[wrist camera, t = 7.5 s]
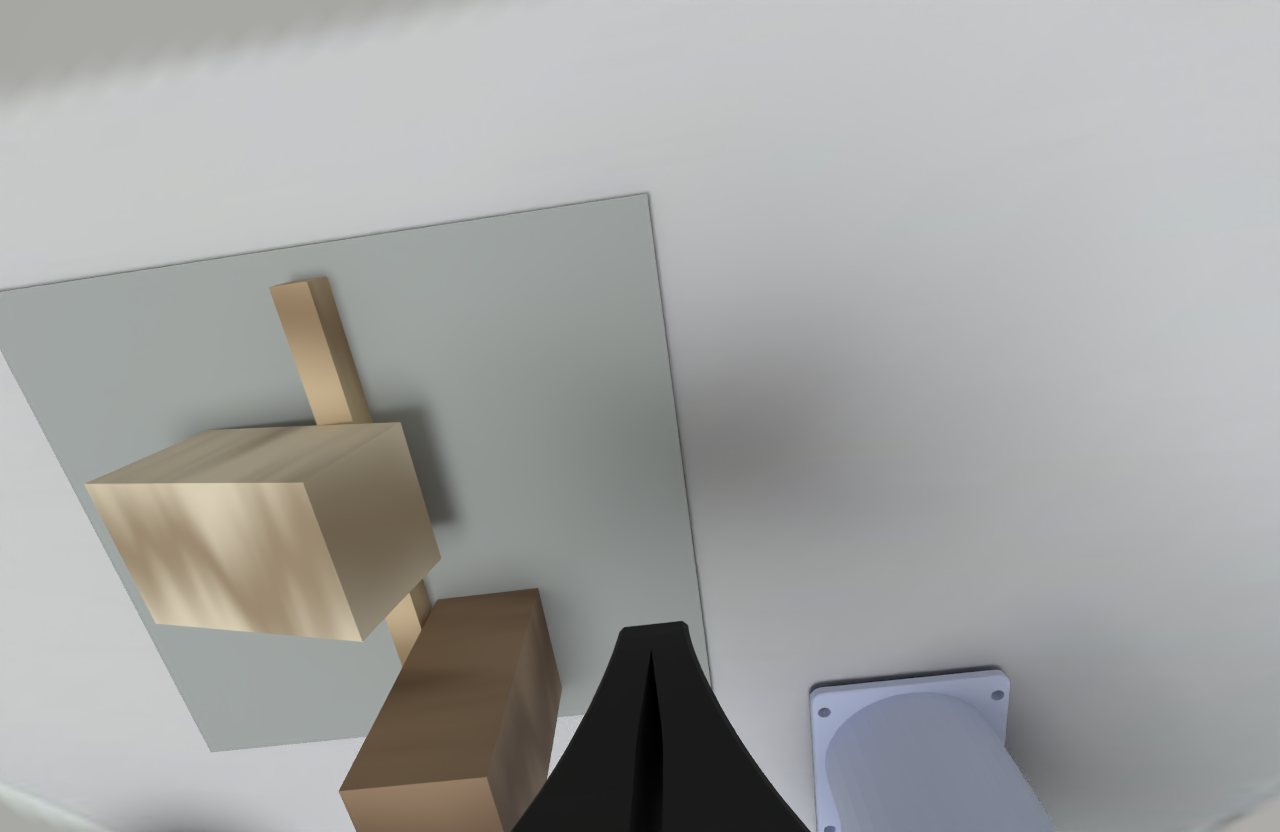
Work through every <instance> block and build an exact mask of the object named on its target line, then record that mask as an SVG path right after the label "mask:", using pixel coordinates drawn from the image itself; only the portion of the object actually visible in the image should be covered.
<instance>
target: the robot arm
mask: <svg viewBox="0 0 1280 832" xmlns="http://www.w3.org/2000/svg"><path fill="white" fill-rule="evenodd" d="M994 691H996V692H994ZM1009 694H1010V680H1009V678H1008V677H1007V676H1006V674H1005V673H1004V672H1003V671H1000V670H987V671H977V672H968V673H958V674H948V675H938V676H928V677H918V678H909V679H899V680H889V681H879V682H869V683H859V684H850V685H840V686H830V687H821V688H817V689H815V690H814V691H812V693H811V694H810V714H811V732H812V749H813V766H814V784H815V801H816V818H817V832H1059V830H1058V829H1057V827H1056V826H1055V824H1054V823H1053V821H1052V820H1051V818H1050V816H1049V815H1048V813H1047V812H1046V810H1045V809H1044V807H1043V806H1042V804H1041V802H1040V801H1039V799H1038V798H1037V796H1036V795H1035V793H1034V792H1033V790H1032V789H1031V787H1030V785H1029V784H1028V782H1027V781H1026V779H1025V778H1024V776H1023V775H1022V773H1021V771H1020V770H1019V768H1018V767H1017V765H1016V764H1015V762H1014V761H1013V759H1012V757H1011V756H1010V754H1009V753H1008V751H1007V750H1006V748H1005V738H1006V727H1007V716H1008V705H1009ZM821 708H826V709H823V710H820V709H821ZM510 832H810V830H809V829H808V828H807V827H806V826H805V824H804V823H803V822H802V821H801V820H800V819H799V817H798V816H797V815H796V814H795V813H794V811H793V810H792V809H791V808H790V807H789V805H788V804H787V803H786V802H785V801H784V800H783V798H782V797H781V796H780V795H779V793H778V792H777V791H776V789H775V788H774V787H773V785H772V784H771V783H770V781H769V780H768V779H767V777H766V776H765V775H764V773H763V772H762V770H761V769H760V768H759V766H758V765H757V763H756V762H755V761H754V759H753V758H752V756H751V755H750V753H749V752H748V750H747V749H746V747H745V746H744V744H743V743H742V741H741V740H740V738H739V736H738V735H737V733H736V732H735V730H734V728H733V727H732V725H731V723H730V722H729V720H728V718H727V717H726V715H725V713H724V711H723V710H722V708H721V706H720V704H719V702H718V700H717V698H716V696H715V695H714V693H713V691H712V689H711V687H710V685H709V683H708V681H707V679H706V677H705V674H704V672H703V670H702V668H701V665H700V663H699V661H698V658H697V656H696V653H695V650H694V647H693V644H692V641H691V637H690V633H689V627H688V624H686V623H685V622H683V621H676V622H666V623H657V624H648V625H639V626H630V627H624V628H623V629H622V630H621V631H620V632H619V635H618V638H617V641H616V644H615V647H614V650H613V653H612V655H611V658H610V661H609V663H608V666H607V668H606V670H605V673H604V675H603V678H602V680H601V682H600V684H599V686H598V688H597V691H596V693H595V695H594V697H593V699H592V701H591V703H590V706H589V708H588V710H587V712H586V714H585V716H584V717H583V719H582V721H581V723H580V725H579V727H578V728H577V730H576V732H575V734H574V736H573V738H572V739H571V741H570V743H569V745H568V747H567V748H566V750H565V752H564V754H563V755H562V757H561V759H560V760H559V762H558V764H557V765H556V767H555V768H554V770H553V772H552V773H551V775H550V776H549V778H548V779H547V781H546V782H545V784H544V785H543V787H542V788H541V790H540V791H539V793H538V794H537V796H536V797H535V798H534V800H533V801H532V803H531V804H530V805H529V807H528V808H527V809H526V811H525V812H524V814H523V815H522V816H521V818H520V819H519V821H518V822H517V823H516V825H515V826H514V827H513V828H512V830H511V831H510Z"/></svg>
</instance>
